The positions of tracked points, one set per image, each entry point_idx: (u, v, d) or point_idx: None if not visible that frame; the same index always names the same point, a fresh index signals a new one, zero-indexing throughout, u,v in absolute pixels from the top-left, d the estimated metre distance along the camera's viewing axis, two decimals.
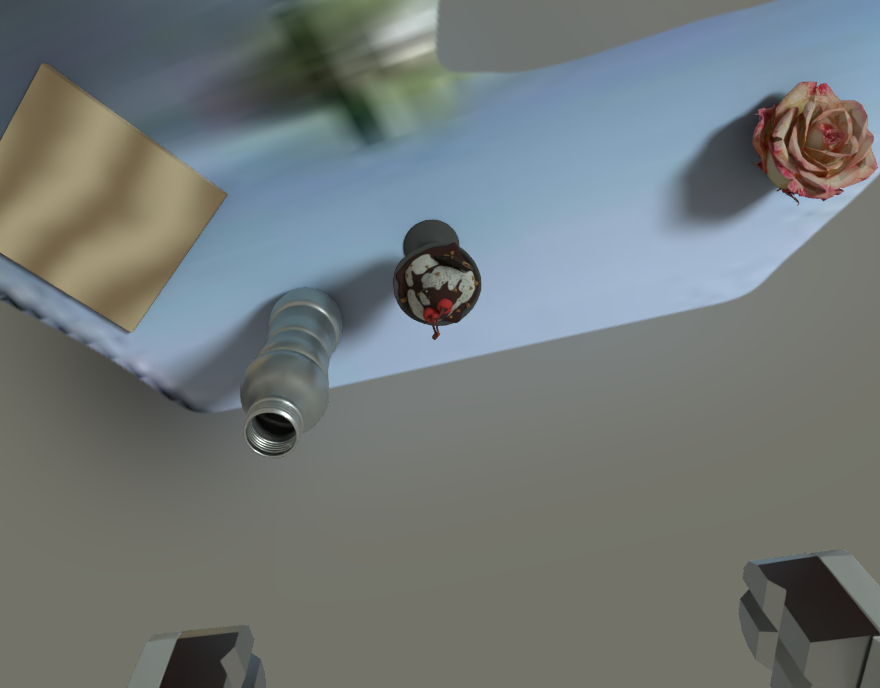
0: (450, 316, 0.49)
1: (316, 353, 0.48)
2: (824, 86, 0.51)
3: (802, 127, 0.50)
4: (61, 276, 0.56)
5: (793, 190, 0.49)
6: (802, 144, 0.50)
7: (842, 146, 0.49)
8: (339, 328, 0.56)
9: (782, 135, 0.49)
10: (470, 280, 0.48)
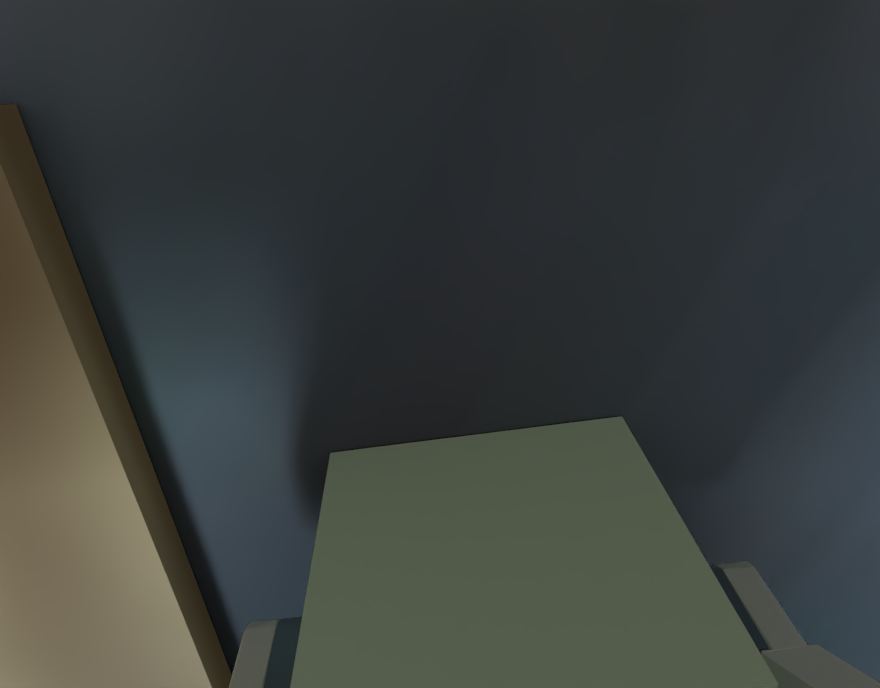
0: None
1: None
2: None
3: None
4: None
5: None
6: None
7: None
8: None
9: None
10: None
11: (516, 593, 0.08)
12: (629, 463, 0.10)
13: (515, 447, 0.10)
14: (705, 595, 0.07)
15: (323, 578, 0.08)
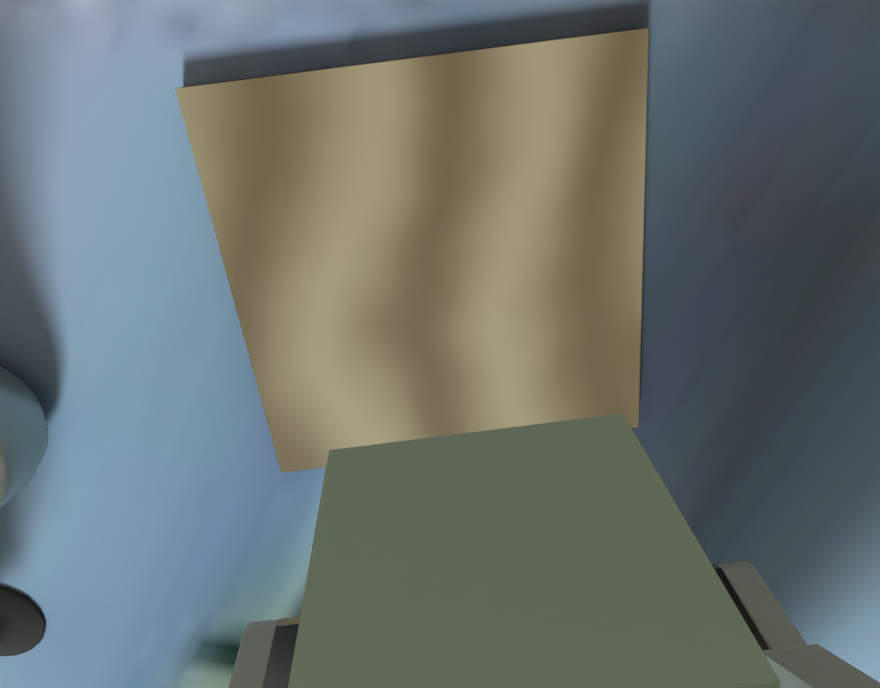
0: None
1: None
2: None
3: None
4: (395, 97, 0.22)
5: None
6: None
7: None
8: None
9: None
10: None
11: (516, 591, 0.08)
12: (630, 460, 0.10)
13: (515, 444, 0.10)
14: (707, 593, 0.07)
15: (322, 575, 0.08)
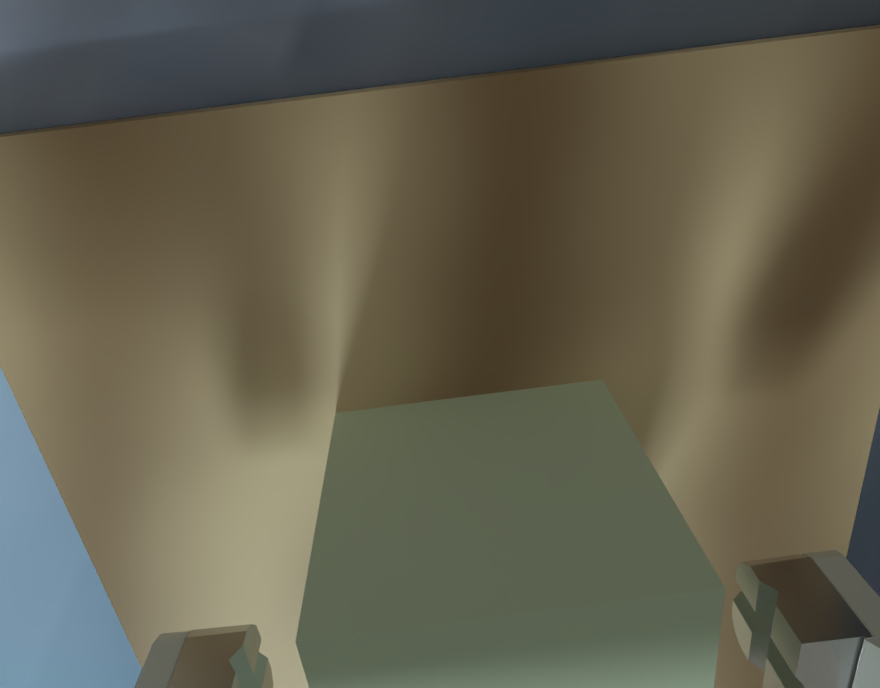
0: None
1: None
2: None
3: None
4: (395, 168, 0.10)
5: None
6: None
7: None
8: None
9: None
10: None
11: (502, 523, 0.09)
12: (607, 418, 0.11)
13: (504, 406, 0.11)
14: (667, 522, 0.08)
15: (330, 513, 0.09)
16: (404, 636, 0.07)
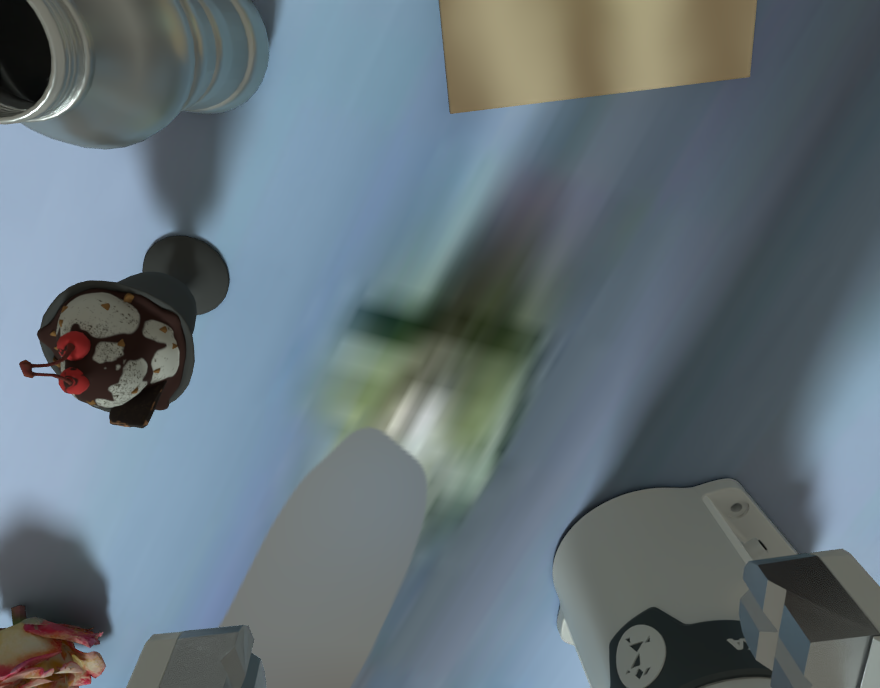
0: (54, 334, 0.28)
1: None
2: (87, 682, 0.49)
3: (55, 675, 0.45)
4: None
5: None
6: None
7: None
8: None
9: (57, 672, 0.44)
10: None
11: None
12: None
13: None
14: None
15: None
16: None
